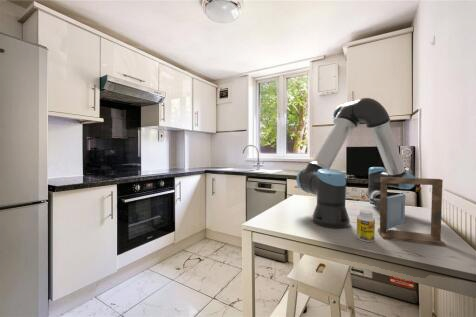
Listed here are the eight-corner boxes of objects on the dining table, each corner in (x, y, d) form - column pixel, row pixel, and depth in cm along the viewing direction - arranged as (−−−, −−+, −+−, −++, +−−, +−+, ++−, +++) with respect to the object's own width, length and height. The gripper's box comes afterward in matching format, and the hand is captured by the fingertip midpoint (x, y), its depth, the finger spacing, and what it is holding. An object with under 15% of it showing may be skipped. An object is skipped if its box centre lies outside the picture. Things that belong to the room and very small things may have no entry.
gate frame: (382, 238, 78) (384, 178, 77) (377, 230, 85) (378, 175, 84) (445, 246, 71) (447, 180, 70) (433, 237, 79) (435, 177, 78)
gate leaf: (387, 229, 81) (387, 198, 80) (382, 228, 82) (383, 197, 82) (404, 223, 87) (405, 194, 87) (400, 222, 88) (400, 194, 88)
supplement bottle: (358, 241, 75) (359, 213, 75) (355, 235, 81) (355, 208, 80) (376, 243, 74) (377, 214, 73) (371, 237, 79) (372, 210, 78)
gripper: (395, 207, 108) (415, 222, 86) (366, 205, 113) (377, 218, 91) (396, 192, 108) (416, 203, 86) (366, 190, 112) (378, 201, 90)
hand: (396, 211), depth 88 cm, fingers closed
